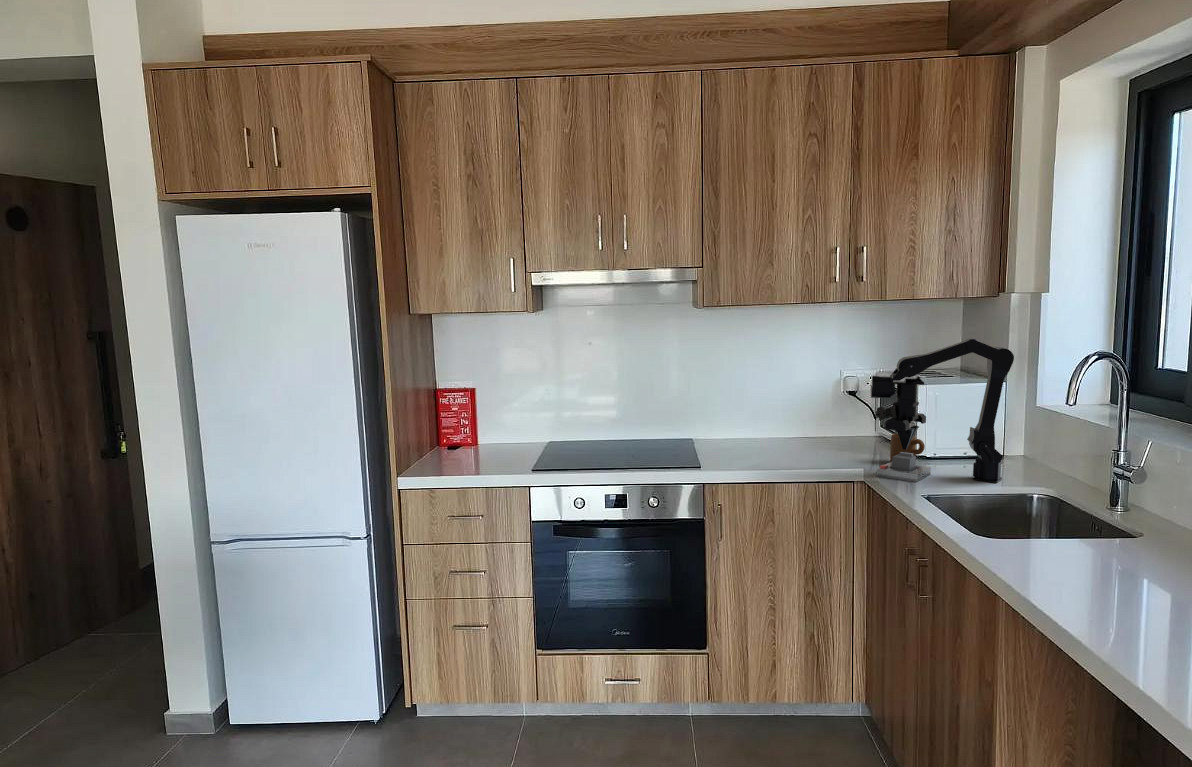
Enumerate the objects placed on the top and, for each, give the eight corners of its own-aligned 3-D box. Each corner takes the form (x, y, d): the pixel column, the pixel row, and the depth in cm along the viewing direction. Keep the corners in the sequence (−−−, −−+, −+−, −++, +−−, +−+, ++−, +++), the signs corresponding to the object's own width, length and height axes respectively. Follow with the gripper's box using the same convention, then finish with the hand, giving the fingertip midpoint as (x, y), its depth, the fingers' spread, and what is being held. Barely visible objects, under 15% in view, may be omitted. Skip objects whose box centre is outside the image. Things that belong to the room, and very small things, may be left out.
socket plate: (930, 474, 228) (930, 465, 228) (916, 482, 220) (917, 472, 219) (891, 468, 236) (891, 459, 236) (876, 476, 228) (876, 466, 227)
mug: (931, 467, 238) (932, 438, 237) (914, 470, 235) (915, 440, 234) (901, 460, 249) (902, 432, 248) (884, 462, 245) (885, 434, 244)
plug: (915, 472, 228) (916, 453, 227) (909, 475, 224) (910, 456, 224) (898, 469, 232) (898, 451, 231) (891, 472, 228) (892, 454, 227)
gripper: (891, 393, 237) (889, 441, 239) (868, 399, 224) (866, 450, 225) (927, 396, 230) (925, 445, 232) (905, 403, 216) (903, 455, 218)
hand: (904, 449), depth 227 cm, fingers closed
